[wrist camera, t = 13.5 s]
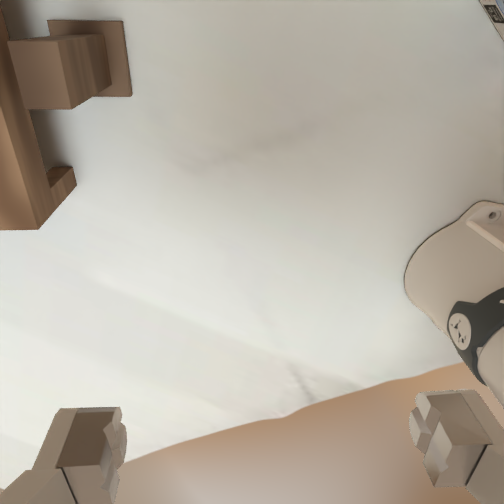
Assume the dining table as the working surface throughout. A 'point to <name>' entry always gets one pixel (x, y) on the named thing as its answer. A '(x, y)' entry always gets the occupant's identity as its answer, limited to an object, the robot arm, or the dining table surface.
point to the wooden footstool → (24, 158)
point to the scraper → (72, 64)
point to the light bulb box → (495, 13)
